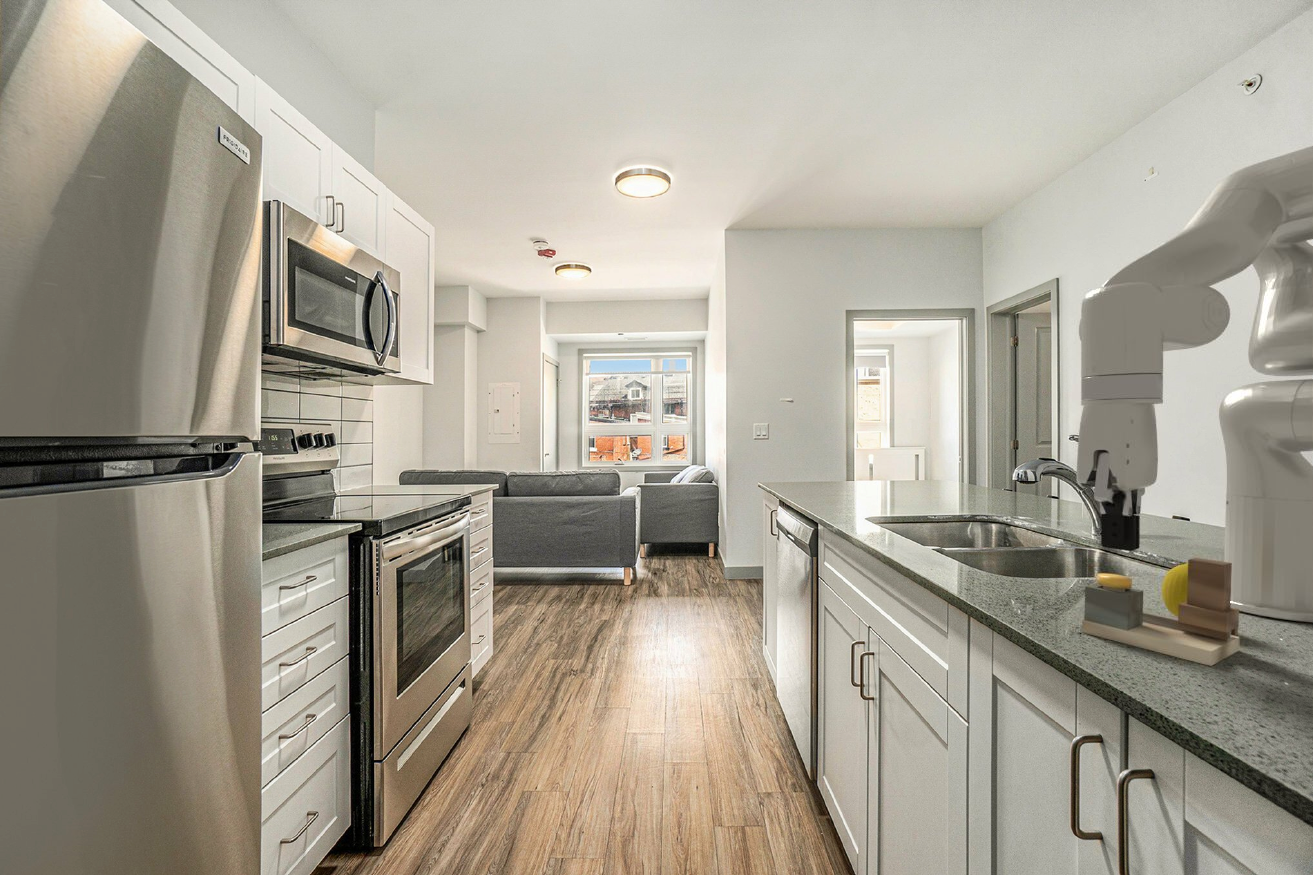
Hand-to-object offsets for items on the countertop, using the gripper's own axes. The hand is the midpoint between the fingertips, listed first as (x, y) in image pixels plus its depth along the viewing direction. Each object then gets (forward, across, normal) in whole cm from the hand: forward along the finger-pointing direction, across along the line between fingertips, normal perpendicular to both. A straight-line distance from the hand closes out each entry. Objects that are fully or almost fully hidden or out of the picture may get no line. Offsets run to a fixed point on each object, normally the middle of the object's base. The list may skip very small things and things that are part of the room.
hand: (1120, 548), depth 69 cm
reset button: (+8, +1, 0) cm, 8 cm away
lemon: (+11, -12, +3) cm, 17 cm away
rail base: (+10, -1, +3) cm, 11 cm away
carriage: (+9, -3, +7) cm, 11 cm away
